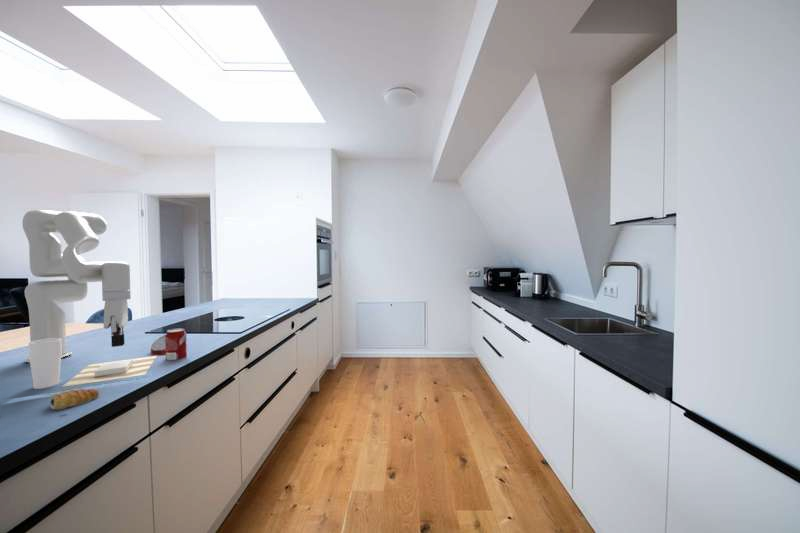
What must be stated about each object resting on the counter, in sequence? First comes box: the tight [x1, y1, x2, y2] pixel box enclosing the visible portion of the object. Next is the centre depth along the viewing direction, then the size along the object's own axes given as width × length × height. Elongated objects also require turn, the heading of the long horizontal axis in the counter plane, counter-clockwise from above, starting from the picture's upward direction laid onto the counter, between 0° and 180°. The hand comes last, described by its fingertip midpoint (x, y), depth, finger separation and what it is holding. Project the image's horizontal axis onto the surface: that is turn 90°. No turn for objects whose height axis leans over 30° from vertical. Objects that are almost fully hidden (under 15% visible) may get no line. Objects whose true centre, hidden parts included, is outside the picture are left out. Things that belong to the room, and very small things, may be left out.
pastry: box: [49, 388, 100, 411], centre depth 86 cm, size 9×7×4 cm
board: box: [61, 355, 158, 392], centre depth 109 cm, size 24×20×1 cm
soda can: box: [164, 327, 188, 361], centre depth 122 cm, size 7×7×12 cm
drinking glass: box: [28, 338, 62, 390], centre depth 95 cm, size 7×7×15 cm
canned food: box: [150, 334, 166, 356], centre depth 131 cm, size 11×10×10 cm
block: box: [95, 358, 134, 377], centre depth 108 cm, size 2×8×10 cm
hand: (118, 345), depth 112 cm, fingers closed
